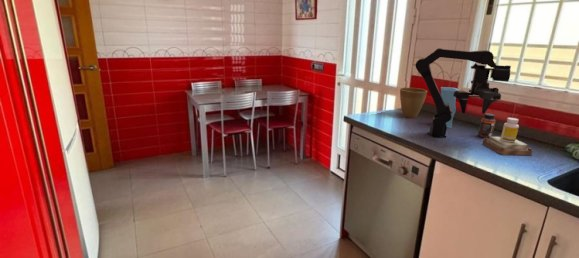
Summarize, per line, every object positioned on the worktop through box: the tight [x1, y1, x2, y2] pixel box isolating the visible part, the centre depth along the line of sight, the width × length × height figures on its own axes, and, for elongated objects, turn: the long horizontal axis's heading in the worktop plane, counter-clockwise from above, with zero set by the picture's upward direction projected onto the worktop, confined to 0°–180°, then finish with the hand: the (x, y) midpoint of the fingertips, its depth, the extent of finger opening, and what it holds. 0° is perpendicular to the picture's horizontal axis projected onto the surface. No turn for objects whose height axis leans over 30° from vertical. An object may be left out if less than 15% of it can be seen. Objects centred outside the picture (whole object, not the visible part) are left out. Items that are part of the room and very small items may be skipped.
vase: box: [440, 86, 459, 129], centre depth 169 cm, size 8×8×20 cm
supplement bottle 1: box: [477, 112, 496, 139], centre depth 154 cm, size 6×6×11 cm
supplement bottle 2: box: [500, 117, 520, 142], centre depth 137 cm, size 5×5×10 cm
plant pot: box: [399, 87, 428, 119], centre depth 186 cm, size 15×15×16 cm
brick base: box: [482, 136, 533, 156], centre depth 139 cm, size 13×13×4 cm
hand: (473, 113), depth 145 cm, fingers open, 9 cm apart
